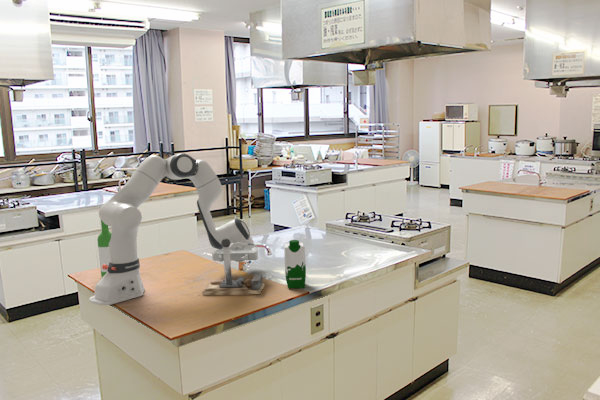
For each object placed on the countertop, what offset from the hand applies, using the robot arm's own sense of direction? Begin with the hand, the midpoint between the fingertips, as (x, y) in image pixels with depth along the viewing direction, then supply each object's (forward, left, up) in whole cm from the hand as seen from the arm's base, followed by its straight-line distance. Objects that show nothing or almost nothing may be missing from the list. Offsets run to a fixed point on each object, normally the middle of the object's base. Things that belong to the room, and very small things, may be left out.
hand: (231, 259), depth 211 cm
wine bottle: (-16, +64, -12) cm, 67 cm away
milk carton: (+13, -24, -12) cm, 30 cm away
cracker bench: (-4, -4, -12) cm, 13 cm away
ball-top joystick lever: (-5, -4, -10) cm, 12 cm away
